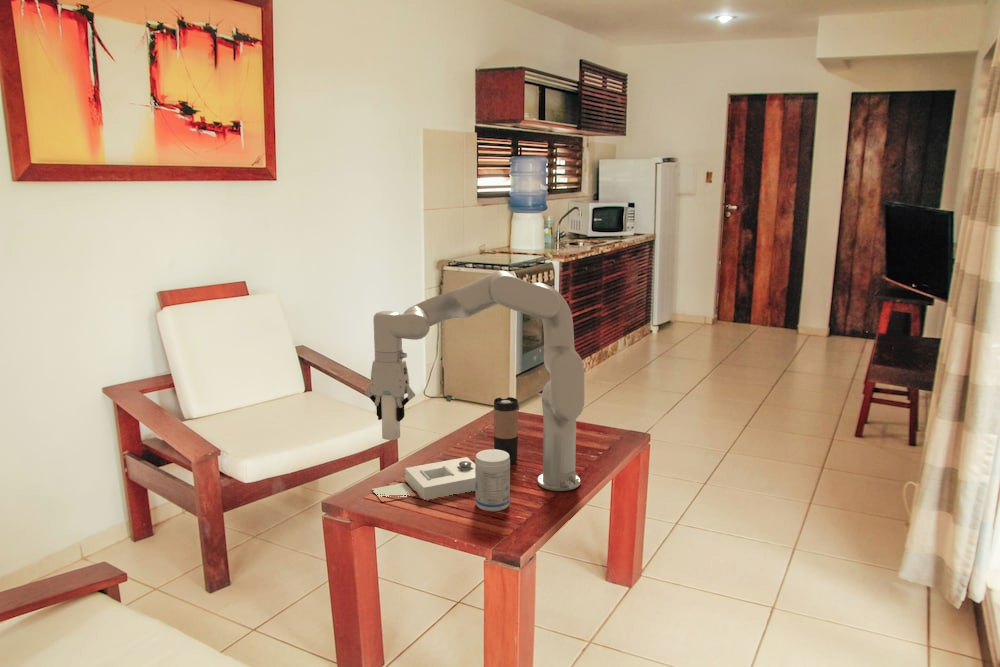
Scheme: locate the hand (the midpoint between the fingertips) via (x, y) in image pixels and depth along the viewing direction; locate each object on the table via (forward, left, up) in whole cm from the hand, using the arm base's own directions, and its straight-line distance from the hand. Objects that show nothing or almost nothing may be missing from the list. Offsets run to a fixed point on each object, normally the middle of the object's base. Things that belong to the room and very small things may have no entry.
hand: (390, 418), depth 213 cm
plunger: (-1, -22, -22) cm, 31 cm away
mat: (0, 0, -22) cm, 22 cm away
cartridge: (0, 0, -5) cm, 5 cm away
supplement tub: (-20, -22, -23) cm, 37 cm away
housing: (-1, -16, -22) cm, 28 cm away
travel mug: (+8, -40, -23) cm, 47 cm away
